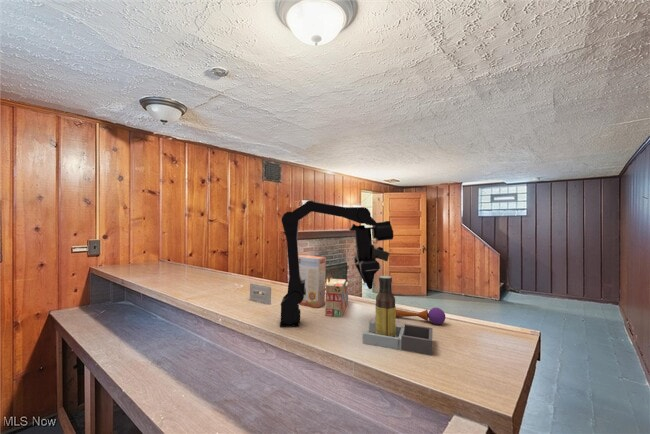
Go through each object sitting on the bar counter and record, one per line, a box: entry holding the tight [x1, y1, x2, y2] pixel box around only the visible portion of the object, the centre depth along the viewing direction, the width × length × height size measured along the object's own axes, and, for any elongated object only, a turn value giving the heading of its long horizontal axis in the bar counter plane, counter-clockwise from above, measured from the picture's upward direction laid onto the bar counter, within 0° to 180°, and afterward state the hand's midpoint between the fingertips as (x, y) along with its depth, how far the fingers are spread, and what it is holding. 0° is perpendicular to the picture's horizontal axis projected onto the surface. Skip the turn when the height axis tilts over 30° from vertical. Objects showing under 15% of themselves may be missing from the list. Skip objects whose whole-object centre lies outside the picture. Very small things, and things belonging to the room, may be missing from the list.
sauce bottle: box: [375, 275, 397, 337], centre depth 94 cm, size 6×6×20 cm
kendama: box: [396, 307, 446, 325], centre depth 113 cm, size 6×6×20 cm
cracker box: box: [298, 254, 327, 309], centre depth 130 cm, size 14×6×21 cm, turn 58°
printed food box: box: [325, 278, 349, 318], centre depth 124 cm, size 21×6×12 cm, turn 168°
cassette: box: [249, 282, 272, 306], centre depth 130 cm, size 12×2×8 cm, turn 58°
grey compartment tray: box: [362, 321, 434, 356], centre depth 92 cm, size 20×11×4 cm, turn 70°
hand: (367, 285), depth 106 cm, fingers open, 9 cm apart
